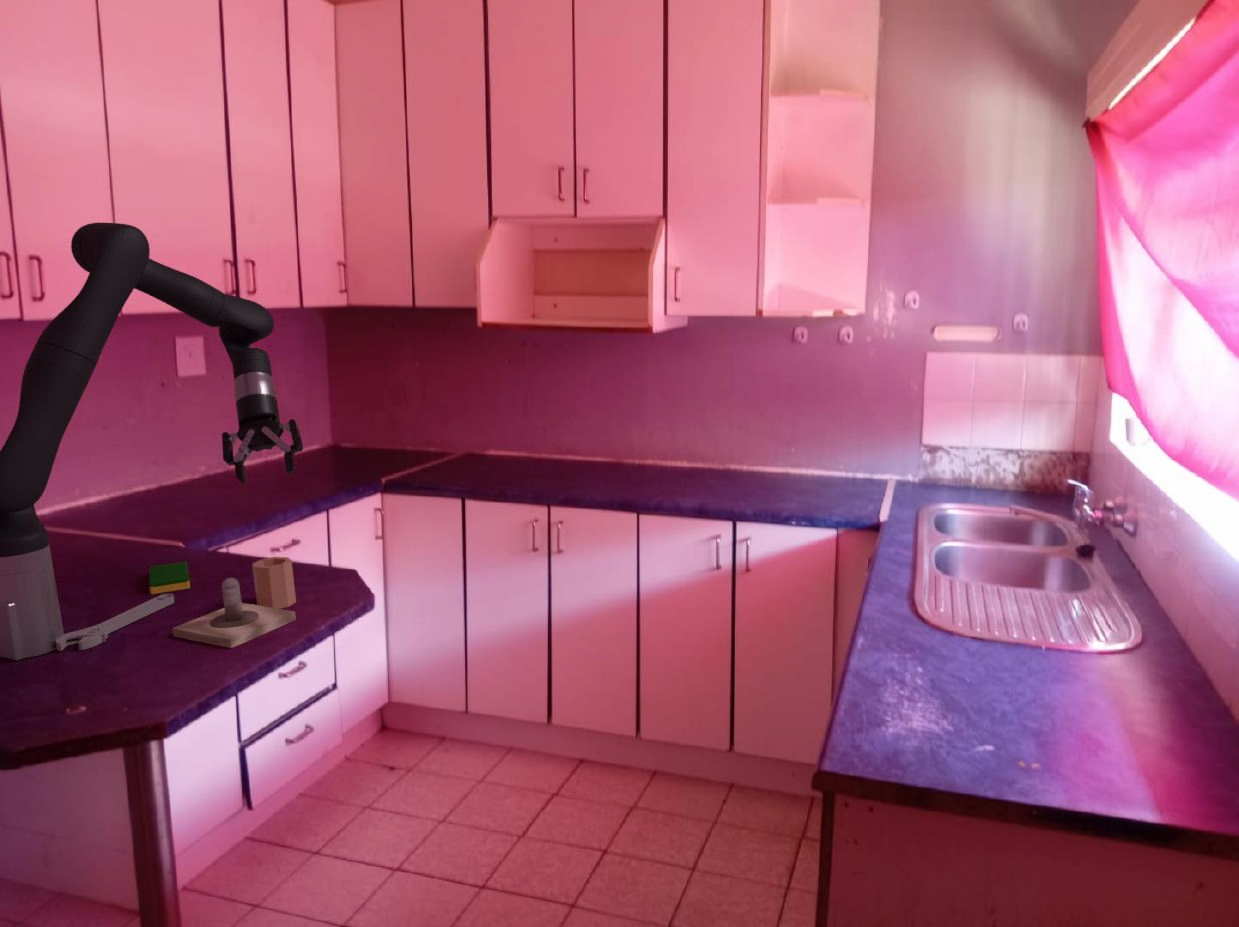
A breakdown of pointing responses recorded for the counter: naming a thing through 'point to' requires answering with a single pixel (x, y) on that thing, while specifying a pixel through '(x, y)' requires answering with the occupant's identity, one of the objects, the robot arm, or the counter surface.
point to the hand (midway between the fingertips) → (266, 477)
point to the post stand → (233, 620)
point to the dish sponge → (168, 577)
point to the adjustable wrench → (112, 624)
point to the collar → (274, 582)
